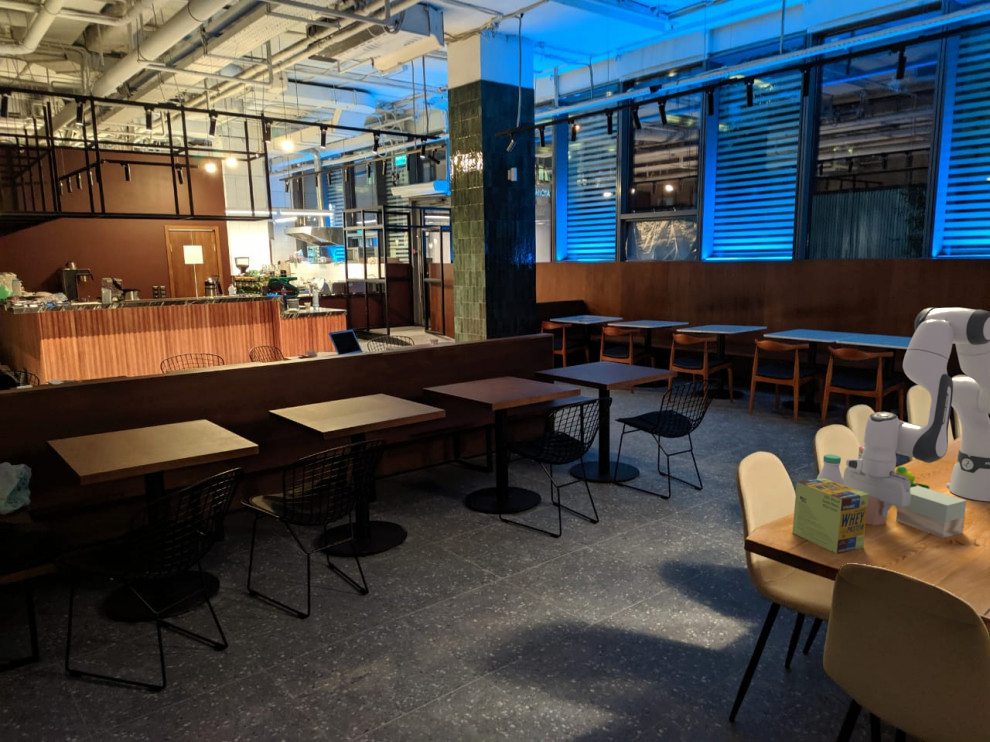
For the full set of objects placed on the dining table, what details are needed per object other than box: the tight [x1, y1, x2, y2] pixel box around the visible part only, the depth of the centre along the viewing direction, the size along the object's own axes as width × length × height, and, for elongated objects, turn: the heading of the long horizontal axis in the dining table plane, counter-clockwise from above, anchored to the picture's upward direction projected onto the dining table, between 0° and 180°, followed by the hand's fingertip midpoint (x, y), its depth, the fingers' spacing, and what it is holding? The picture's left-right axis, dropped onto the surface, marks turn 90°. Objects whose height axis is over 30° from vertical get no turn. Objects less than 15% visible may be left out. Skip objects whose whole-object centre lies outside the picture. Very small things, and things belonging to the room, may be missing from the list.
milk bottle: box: [816, 453, 844, 485], centre depth 206 cm, size 8×8×20 cm
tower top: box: [903, 486, 967, 522], centre depth 202 cm, size 9×14×5 cm, turn 26°
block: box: [866, 496, 888, 527], centre depth 206 cm, size 5×5×8 cm
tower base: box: [895, 507, 965, 539], centre depth 203 cm, size 9×14×5 cm, turn 25°
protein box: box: [791, 478, 869, 554], centre depth 192 cm, size 10×15×16 cm
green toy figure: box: [895, 465, 930, 489], centre depth 223 cm, size 11×9×11 cm
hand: (873, 511), depth 206 cm, fingers closed on block, 5 cm apart
